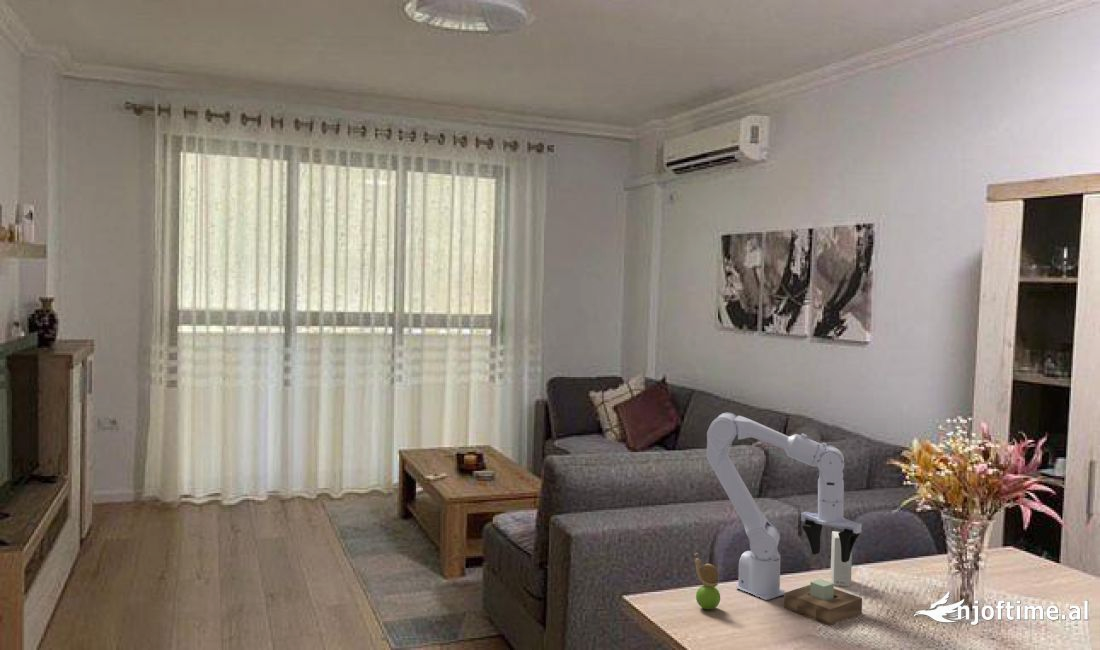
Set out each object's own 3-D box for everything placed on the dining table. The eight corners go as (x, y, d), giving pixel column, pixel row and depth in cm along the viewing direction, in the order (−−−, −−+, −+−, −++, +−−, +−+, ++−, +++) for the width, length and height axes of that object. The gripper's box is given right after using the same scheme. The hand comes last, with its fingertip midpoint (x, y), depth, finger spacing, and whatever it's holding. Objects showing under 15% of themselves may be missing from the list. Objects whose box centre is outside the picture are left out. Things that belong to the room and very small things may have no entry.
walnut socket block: (784, 607, 187) (784, 592, 186) (816, 597, 194) (816, 582, 194) (829, 625, 177) (829, 609, 177) (861, 613, 184) (862, 598, 184)
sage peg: (809, 608, 185) (810, 581, 185) (819, 604, 187) (820, 578, 187) (823, 613, 182) (823, 586, 182) (833, 609, 185) (833, 583, 184)
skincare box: (851, 587, 201) (852, 538, 201) (833, 585, 202) (834, 537, 201) (847, 578, 207) (848, 531, 206) (830, 577, 208) (831, 530, 207)
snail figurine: (701, 601, 190) (702, 550, 190) (724, 609, 185) (725, 556, 185) (687, 607, 186) (688, 555, 186) (711, 615, 182) (712, 562, 181)
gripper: (793, 496, 193) (793, 553, 194) (850, 508, 182) (849, 568, 183) (810, 492, 198) (810, 547, 198) (866, 503, 187) (866, 562, 187)
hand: (830, 557), depth 191 cm, fingers open, 7 cm apart
